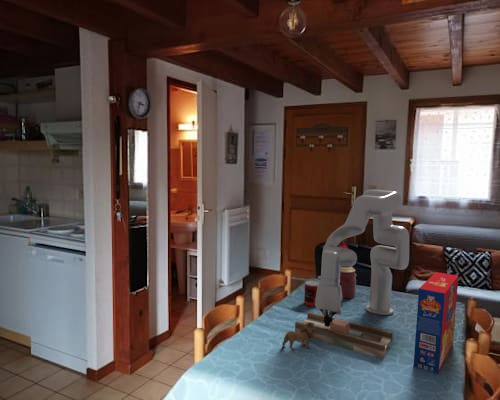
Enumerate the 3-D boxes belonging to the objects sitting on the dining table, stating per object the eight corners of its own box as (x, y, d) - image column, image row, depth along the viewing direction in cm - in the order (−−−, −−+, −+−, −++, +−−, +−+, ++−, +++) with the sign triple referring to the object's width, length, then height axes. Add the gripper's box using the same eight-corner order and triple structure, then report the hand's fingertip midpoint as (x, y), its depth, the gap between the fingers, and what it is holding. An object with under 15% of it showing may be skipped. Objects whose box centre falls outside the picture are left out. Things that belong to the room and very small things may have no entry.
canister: (357, 293, 213) (359, 261, 212) (353, 300, 202) (355, 267, 200) (333, 289, 219) (335, 258, 217) (328, 296, 207) (329, 263, 206)
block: (334, 327, 159) (335, 318, 159) (349, 331, 156) (349, 321, 156) (329, 332, 154) (330, 322, 154) (344, 336, 151) (345, 326, 151)
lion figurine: (309, 341, 153) (310, 319, 152) (317, 347, 148) (318, 324, 147) (277, 348, 146) (278, 325, 145) (285, 354, 141) (286, 330, 140)
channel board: (308, 323, 170) (308, 312, 170) (391, 344, 152) (392, 332, 152) (294, 334, 158) (295, 322, 158) (383, 359, 140) (384, 345, 140)
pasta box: (438, 374, 131) (444, 293, 128) (413, 366, 135) (419, 288, 133) (452, 345, 153) (458, 275, 151) (431, 339, 158) (436, 271, 156)
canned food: (319, 302, 198) (320, 281, 197) (320, 307, 190) (321, 285, 189) (303, 301, 198) (304, 280, 197) (304, 306, 190) (305, 284, 190)
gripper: (309, 279, 157) (306, 324, 159) (345, 286, 149) (342, 333, 151) (316, 275, 164) (314, 318, 165) (351, 282, 156) (348, 327, 157)
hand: (327, 325), depth 158 cm, fingers closed
